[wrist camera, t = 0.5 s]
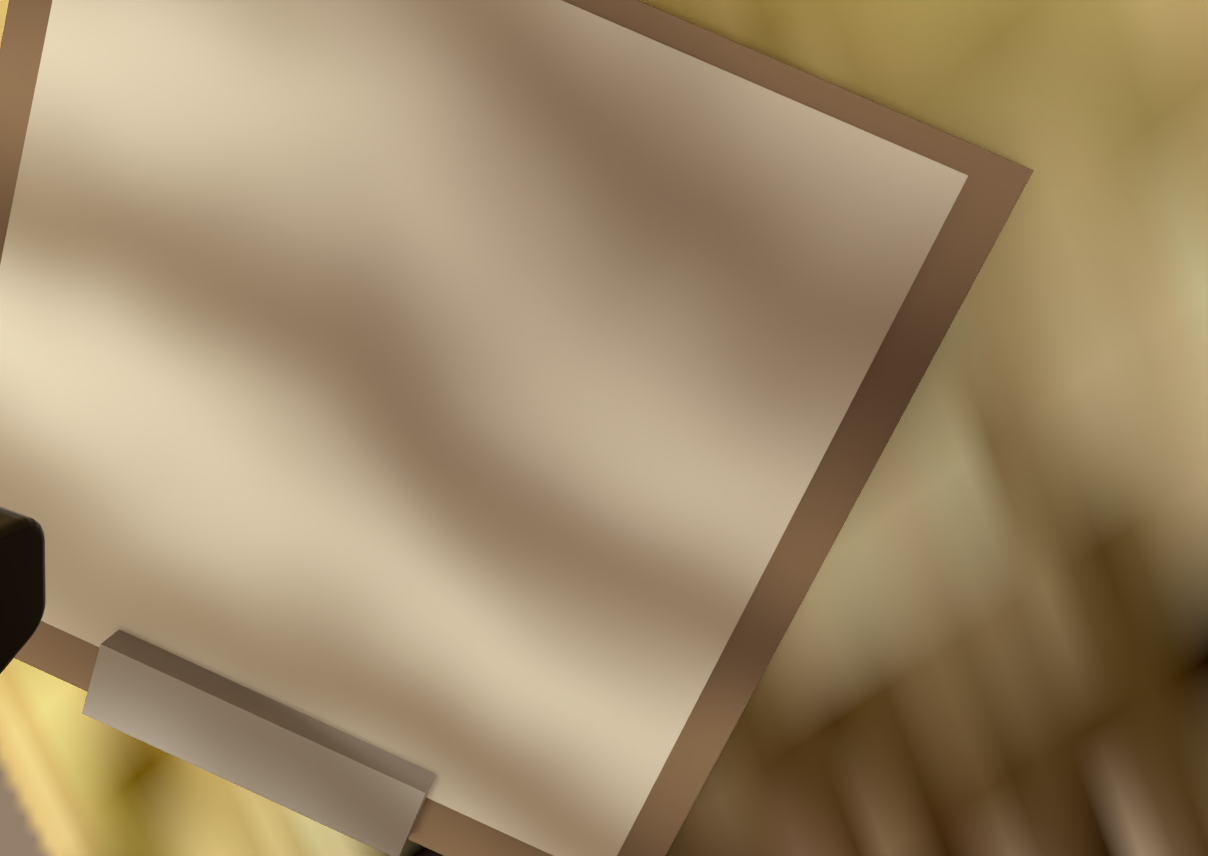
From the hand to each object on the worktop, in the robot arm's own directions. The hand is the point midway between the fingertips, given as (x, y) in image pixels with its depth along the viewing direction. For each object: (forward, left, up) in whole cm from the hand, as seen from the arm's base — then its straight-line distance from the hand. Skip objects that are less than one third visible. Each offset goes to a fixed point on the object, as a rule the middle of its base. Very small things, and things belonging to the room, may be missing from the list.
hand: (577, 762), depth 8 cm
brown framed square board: (-4, +6, -14) cm, 16 cm away
